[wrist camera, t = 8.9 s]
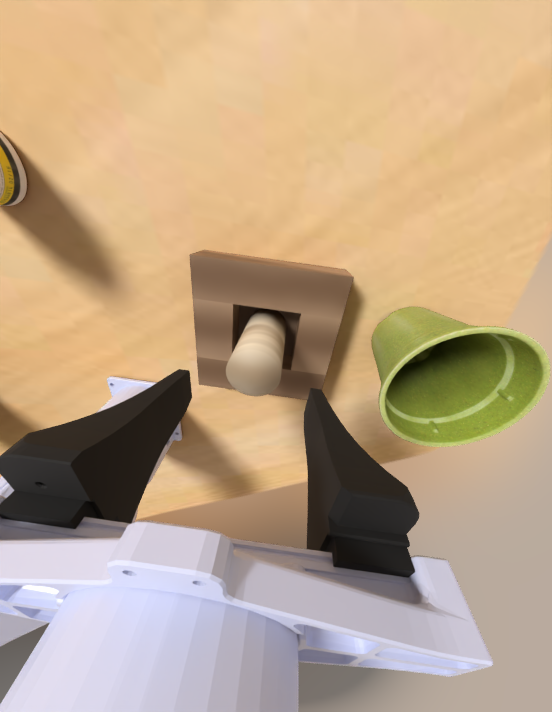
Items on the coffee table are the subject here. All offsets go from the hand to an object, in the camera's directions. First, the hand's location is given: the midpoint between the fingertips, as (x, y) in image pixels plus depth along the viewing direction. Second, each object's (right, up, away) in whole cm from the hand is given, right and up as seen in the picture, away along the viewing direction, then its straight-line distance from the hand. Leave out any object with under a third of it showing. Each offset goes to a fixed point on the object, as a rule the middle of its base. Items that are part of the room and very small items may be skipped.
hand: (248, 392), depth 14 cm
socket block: (+1, +5, +9) cm, 10 cm away
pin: (+1, +5, +8) cm, 10 cm away
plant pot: (+14, +4, +8) cm, 17 cm away
